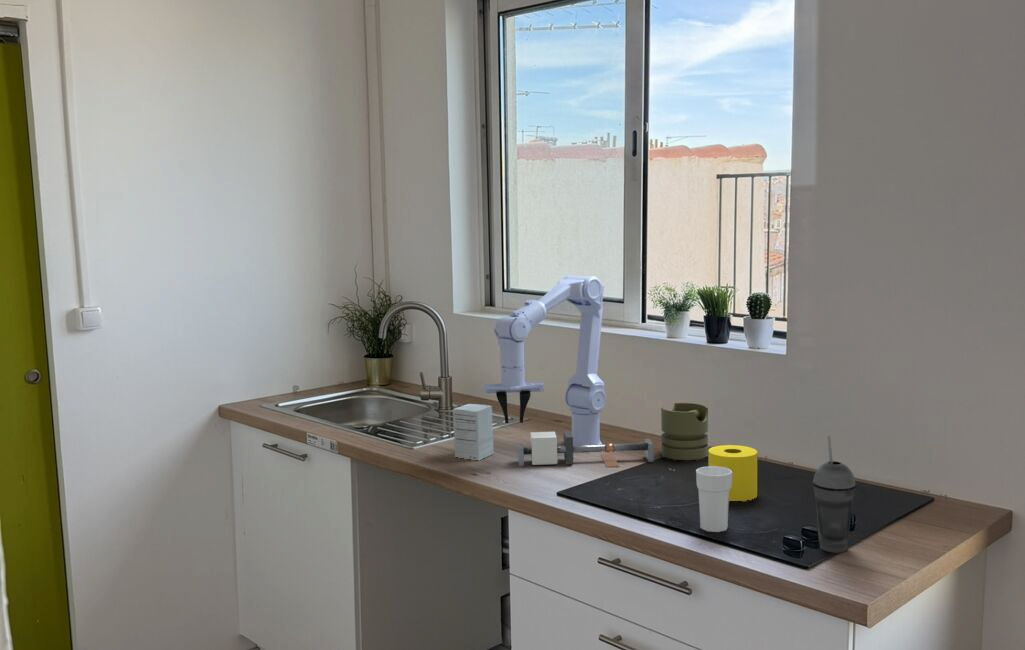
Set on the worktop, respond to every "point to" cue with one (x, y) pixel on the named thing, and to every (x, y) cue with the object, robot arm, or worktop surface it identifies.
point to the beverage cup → (833, 503)
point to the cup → (714, 497)
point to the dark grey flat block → (568, 447)
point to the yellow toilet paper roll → (737, 469)
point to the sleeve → (543, 448)
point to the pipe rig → (606, 447)
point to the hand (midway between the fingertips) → (514, 422)
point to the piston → (685, 431)
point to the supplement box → (473, 431)
